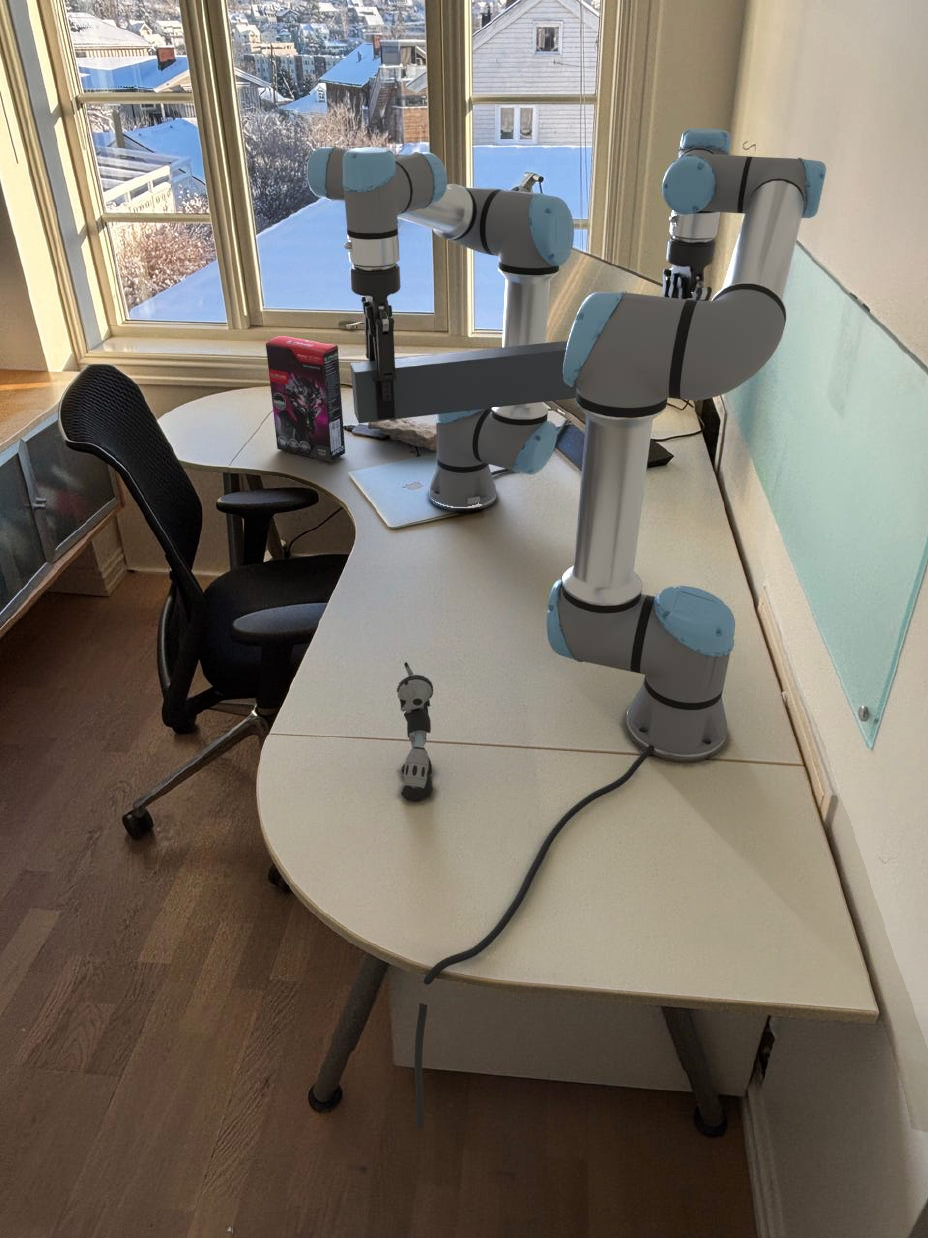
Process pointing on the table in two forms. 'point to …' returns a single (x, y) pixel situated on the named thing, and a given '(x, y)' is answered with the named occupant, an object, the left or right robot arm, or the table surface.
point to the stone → (408, 432)
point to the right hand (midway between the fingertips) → (673, 377)
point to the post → (466, 381)
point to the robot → (416, 734)
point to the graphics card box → (306, 397)
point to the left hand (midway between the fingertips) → (383, 411)
